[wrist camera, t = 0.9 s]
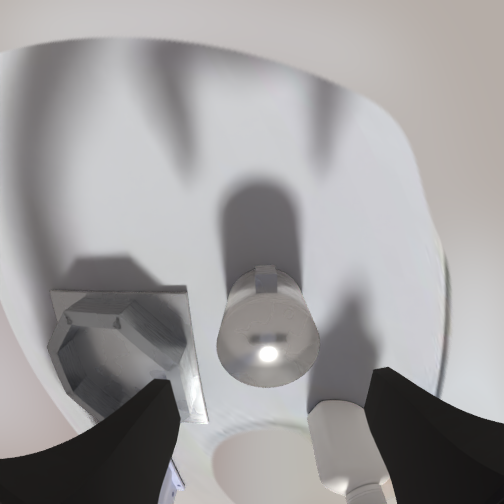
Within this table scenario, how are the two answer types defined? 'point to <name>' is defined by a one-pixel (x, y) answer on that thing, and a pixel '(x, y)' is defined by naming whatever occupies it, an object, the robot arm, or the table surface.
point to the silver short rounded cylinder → (267, 330)
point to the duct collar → (125, 349)
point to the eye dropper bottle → (347, 452)
